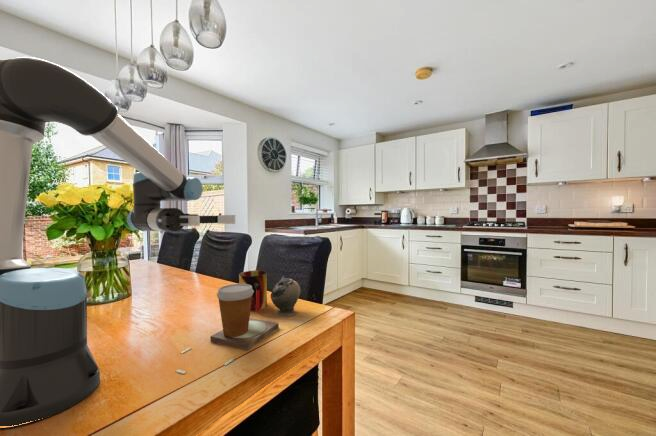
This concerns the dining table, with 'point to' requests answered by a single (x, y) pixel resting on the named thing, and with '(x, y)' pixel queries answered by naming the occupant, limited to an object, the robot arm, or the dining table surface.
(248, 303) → the disposable coffee cup
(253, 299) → the mug
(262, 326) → the board
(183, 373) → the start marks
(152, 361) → the dining table surface
